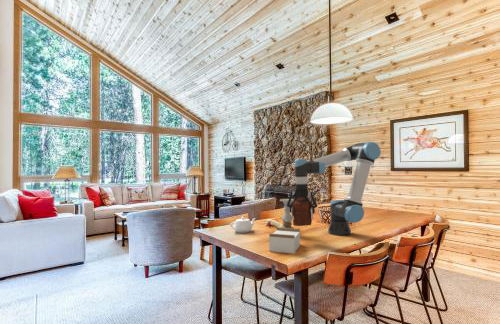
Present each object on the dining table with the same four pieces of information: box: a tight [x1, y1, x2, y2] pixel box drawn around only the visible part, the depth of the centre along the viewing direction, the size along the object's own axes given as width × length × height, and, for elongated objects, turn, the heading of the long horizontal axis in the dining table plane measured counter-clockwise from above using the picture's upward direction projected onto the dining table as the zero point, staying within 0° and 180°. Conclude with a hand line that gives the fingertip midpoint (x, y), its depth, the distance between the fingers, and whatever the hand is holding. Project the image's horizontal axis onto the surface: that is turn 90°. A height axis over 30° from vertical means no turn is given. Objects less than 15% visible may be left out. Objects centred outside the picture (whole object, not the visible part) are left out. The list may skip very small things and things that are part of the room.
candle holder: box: [279, 198, 295, 229], centre depth 195 cm, size 11×11×24 cm
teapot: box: [229, 216, 257, 234], centre depth 204 cm, size 22×14×11 cm, turn 124°
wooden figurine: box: [291, 197, 313, 227], centre depth 175 cm, size 12×6×18 cm, turn 105°
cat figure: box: [264, 218, 284, 228], centre depth 216 cm, size 10×9×25 cm
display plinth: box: [268, 226, 301, 254], centre depth 162 cm, size 14×18×10 cm
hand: (302, 218), depth 175 cm, fingers closed on wooden figurine, 11 cm apart
